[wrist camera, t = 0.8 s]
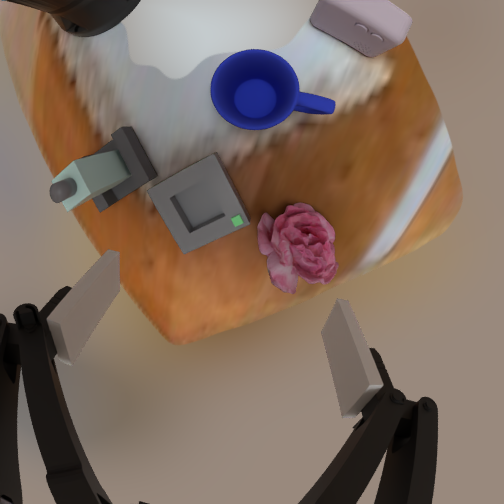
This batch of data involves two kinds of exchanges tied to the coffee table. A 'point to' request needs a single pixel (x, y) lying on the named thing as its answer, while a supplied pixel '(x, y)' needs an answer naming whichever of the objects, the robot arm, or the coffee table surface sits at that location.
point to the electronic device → (363, 23)
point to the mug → (261, 91)
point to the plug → (88, 178)
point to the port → (200, 204)
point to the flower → (297, 247)
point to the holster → (135, 162)
